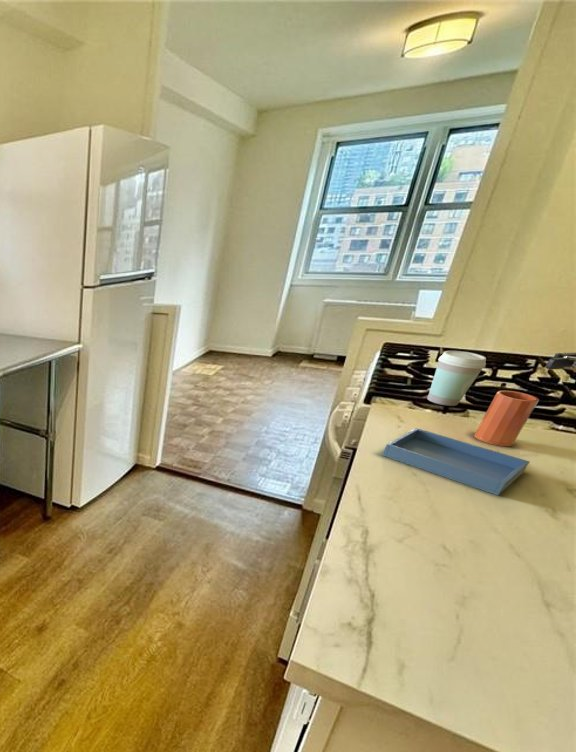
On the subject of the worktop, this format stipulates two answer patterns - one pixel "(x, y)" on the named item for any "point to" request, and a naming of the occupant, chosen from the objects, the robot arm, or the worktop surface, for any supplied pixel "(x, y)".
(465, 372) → the coffee cup
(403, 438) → the tray
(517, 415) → the tumbler
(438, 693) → the worktop surface
